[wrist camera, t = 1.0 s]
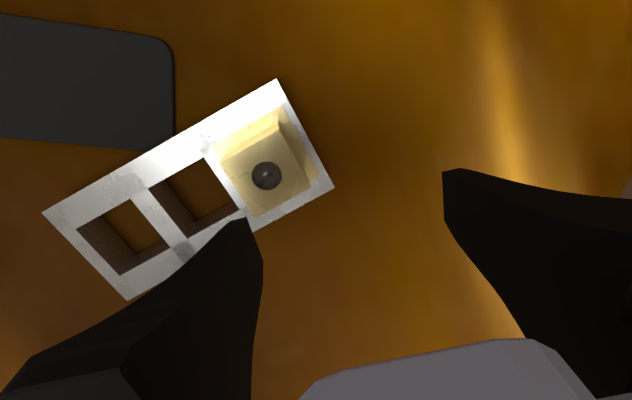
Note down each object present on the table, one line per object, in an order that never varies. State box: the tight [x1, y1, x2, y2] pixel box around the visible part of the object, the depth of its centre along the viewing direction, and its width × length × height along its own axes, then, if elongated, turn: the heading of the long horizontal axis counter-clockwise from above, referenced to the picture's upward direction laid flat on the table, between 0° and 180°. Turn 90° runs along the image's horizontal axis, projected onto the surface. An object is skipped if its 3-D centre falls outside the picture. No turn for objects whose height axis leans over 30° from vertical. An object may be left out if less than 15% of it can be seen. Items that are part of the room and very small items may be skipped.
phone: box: [0, 14, 175, 151], centre depth 21 cm, size 7×1×15 cm
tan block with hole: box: [211, 105, 319, 218], centre depth 21 cm, size 5×5×7 cm
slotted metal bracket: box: [42, 79, 335, 301], centre depth 23 cm, size 17×8×3 cm, turn 118°
